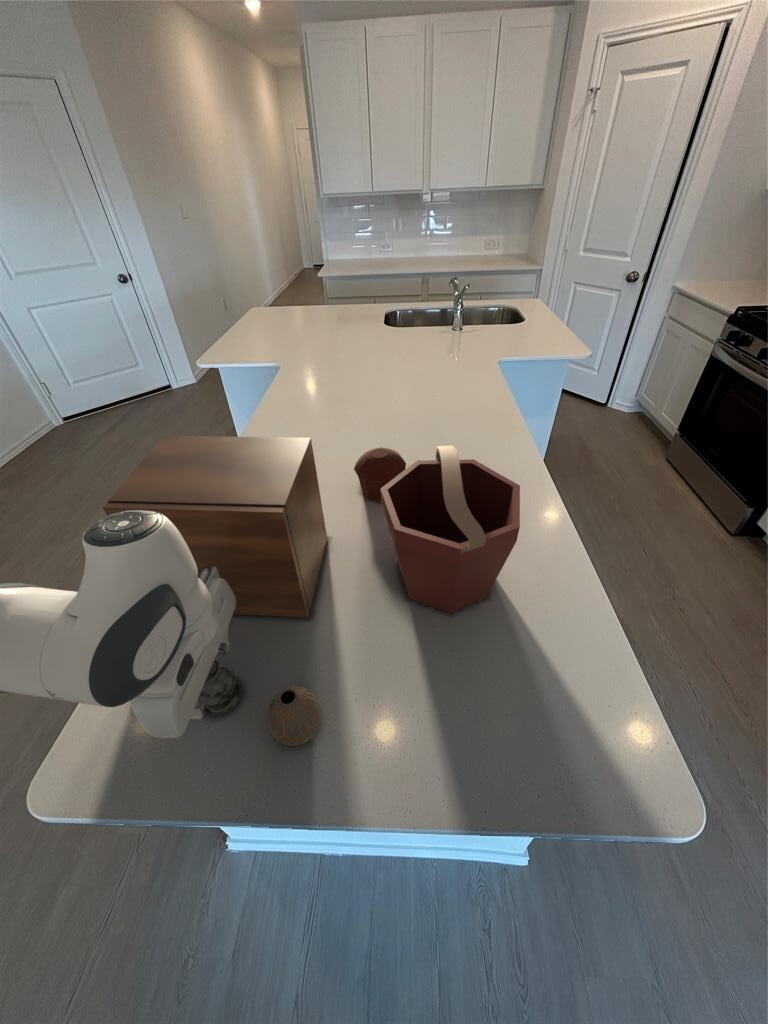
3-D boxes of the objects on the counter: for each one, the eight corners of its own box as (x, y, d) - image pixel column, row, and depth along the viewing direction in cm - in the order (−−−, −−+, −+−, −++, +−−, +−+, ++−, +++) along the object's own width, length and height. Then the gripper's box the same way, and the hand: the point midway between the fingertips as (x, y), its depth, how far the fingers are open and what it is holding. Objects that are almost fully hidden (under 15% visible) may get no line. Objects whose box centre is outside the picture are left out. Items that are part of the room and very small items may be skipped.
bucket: (500, 642, 70) (528, 528, 54) (367, 619, 75) (356, 506, 58) (504, 538, 88) (526, 429, 72) (397, 524, 93) (395, 418, 76)
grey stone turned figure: (249, 690, 66) (228, 645, 58) (219, 725, 62) (192, 681, 54) (222, 672, 68) (199, 626, 60) (192, 704, 64) (162, 659, 57)
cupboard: (309, 611, 76) (284, 504, 61) (166, 605, 78) (107, 500, 63) (327, 539, 90) (311, 437, 74) (205, 535, 92) (164, 435, 76)
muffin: (389, 470, 108) (388, 434, 102) (415, 492, 101) (416, 455, 94) (347, 486, 103) (343, 450, 97) (371, 511, 96) (369, 474, 90)
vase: (328, 706, 63) (321, 674, 58) (316, 757, 58) (306, 728, 52) (282, 700, 64) (270, 668, 59) (266, 749, 59) (251, 720, 53)
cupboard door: (301, 643, 71) (272, 538, 56) (148, 635, 73) (80, 532, 58) (309, 612, 76) (284, 506, 61) (165, 605, 78) (106, 502, 63)
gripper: (188, 557, 61) (216, 617, 70) (106, 701, 45) (156, 755, 54) (232, 559, 60) (255, 619, 69) (165, 705, 45) (205, 758, 54)
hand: (211, 680), depth 62 cm, fingers open, 8 cm apart
